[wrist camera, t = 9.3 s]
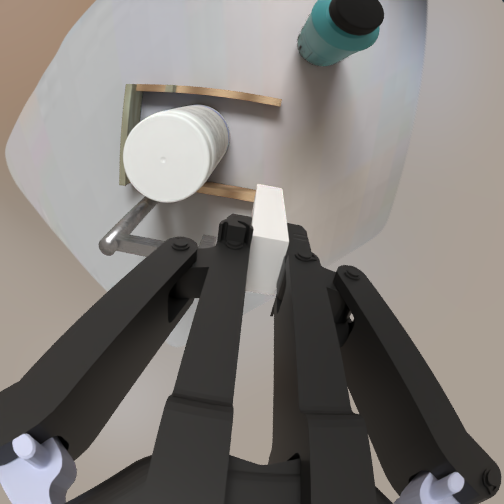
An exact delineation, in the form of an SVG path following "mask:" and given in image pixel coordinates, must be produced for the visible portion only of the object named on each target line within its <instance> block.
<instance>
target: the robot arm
mask: <svg viewBox="0 0 504 504" xmlns="http://www.w3.org/2000/svg"><path fill="white" fill-rule="evenodd" d="M502 1H503V2H504V0H502ZM276 288H277V295H276V298H275V302H274V305H273V308H272V312H271V315H270V316H273V314H274V398H273V443H272V450H271V454H270V457H269V462H268V465H258V464H255V463H252V462H249V461H246V460H243V459H240V458H237V457H234V456H231V455H229V451H230V442H231V431H232V423H233V396H234V385H235V378H236V369H237V359H238V350H239V342H240V333H241V323H242V315H243V306H244V297H245V291H248V292H254V293H260V294H266V295H272V296H274V295H275V291H276ZM194 298H200V299H199V302H198V305H197V309H196V312H195V316H194V319H193V322H192V326H191V329H190V333H189V336H188V340H187V343H186V347H185V350H184V354H183V358H182V361H181V365H180V369H179V372H178V376H177V380H176V383H175V387H174V390H173V393H172V395H170V396H169V397H168V399H167V401H166V404H165V407H164V411H163V415H162V419H161V422H160V426H159V430H158V434H157V438H156V442H155V446H154V451H153V454H152V455H151V456H148V457H145V458H142V459H140V460H138V461H136V462H134V463H132V464H131V465H130V466H128V467H126V468H125V469H123V470H122V471H120V472H118V473H117V474H115V475H114V476H112V477H110V478H109V479H107V480H105V481H104V482H102V483H100V484H99V485H97V486H95V487H94V488H92V489H90V490H88V491H87V492H85V493H83V494H81V495H80V496H78V497H76V498H74V499H72V500H70V501H68V502H66V500H65V499H66V498H65V496H66V493H67V490H68V489H69V488H70V486H71V485H72V484H73V483H74V481H75V478H76V474H77V471H76V470H77V469H76V465H75V462H74V460H76V459H77V458H78V457H79V456H80V455H81V454H82V453H83V452H84V451H85V450H87V449H88V448H89V446H90V445H91V444H92V442H93V441H94V440H95V438H96V437H97V436H98V434H99V433H100V432H101V430H102V429H103V427H104V426H105V424H106V423H107V422H108V420H109V419H110V417H111V416H112V414H113V413H114V411H115V410H116V409H117V407H118V406H119V404H120V403H121V401H122V400H123V399H124V397H125V396H126V394H127V393H128V392H129V390H130V389H131V387H132V386H133V385H134V383H135V382H136V380H137V379H138V377H139V376H140V375H141V373H142V372H143V371H144V369H145V368H146V366H147V365H148V364H149V362H150V361H151V359H152V358H153V356H154V355H155V354H156V352H157V351H158V350H159V348H160V347H161V346H162V344H163V343H164V341H165V340H166V339H167V337H168V336H169V334H170V333H171V332H172V330H173V329H174V328H175V326H176V325H177V324H178V322H179V321H180V319H181V318H182V317H183V315H184V314H185V313H186V311H187V310H188V309H189V307H190V306H191V304H192V303H193V301H194ZM351 313H352V314H353V316H354V320H353V322H352V321H351V319H350V315H351ZM347 387H348V388H347ZM348 389H349V391H350V393H351V395H352V398H353V400H354V402H355V405H356V407H357V409H358V412H359V414H355V413H353V412H352V410H351V406H350V400H349V394H348ZM368 435H369V437H370V440H371V442H372V444H373V447H374V449H375V452H376V454H377V457H378V459H379V461H380V464H381V466H382V468H383V471H384V473H385V475H386V477H387V479H388V480H389V482H390V484H391V485H392V487H393V488H394V490H395V491H396V492H397V493H398V495H399V496H400V498H398V499H397V500H396V501H395V502H394V504H479V503H481V502H483V501H485V500H487V499H489V498H491V497H492V496H494V495H495V494H496V492H497V491H498V490H499V487H500V484H501V472H500V469H499V467H498V466H497V464H496V463H495V462H494V461H493V460H492V459H491V458H490V457H489V455H488V454H487V453H486V452H485V451H484V450H483V449H482V448H481V447H480V446H479V445H478V444H477V443H476V442H475V441H474V439H473V438H472V437H471V436H470V435H469V434H468V433H467V432H466V430H465V428H464V427H463V425H462V423H461V421H460V419H459V417H458V415H457V414H456V412H455V410H454V408H453V407H452V405H451V403H450V401H449V399H448V398H447V396H446V394H445V393H444V391H443V389H442V388H441V386H440V384H439V382H438V381H437V379H436V378H435V376H434V374H433V373H432V371H431V369H430V368H429V366H428V365H427V363H426V362H425V360H424V358H423V357H422V355H421V354H420V352H419V351H418V349H417V347H416V346H415V344H414V343H413V341H412V340H411V338H410V337H409V336H408V334H407V332H406V331H405V330H404V328H403V327H402V325H401V324H400V323H399V321H398V319H397V318H396V317H395V315H394V314H393V312H392V311H391V309H390V308H389V307H388V305H387V304H386V302H385V301H384V300H383V298H382V297H381V296H380V294H379V293H378V292H377V290H376V289H375V287H374V286H373V285H372V283H371V282H370V281H369V279H368V278H367V277H366V275H365V274H364V273H363V272H362V271H360V270H359V269H357V268H355V267H353V266H348V265H343V266H340V267H338V269H337V271H336V272H333V271H331V270H328V269H326V268H324V267H322V266H321V264H320V260H319V258H318V257H317V256H316V255H315V254H314V253H312V252H311V248H310V244H309V240H308V237H307V232H306V230H305V229H304V228H303V227H302V226H300V225H295V224H290V223H287V221H286V213H285V206H284V198H283V191H282V188H277V187H272V186H267V185H261V184H257V188H256V193H255V199H254V204H253V209H252V214H251V217H248V216H242V215H236V214H232V215H230V216H229V217H227V219H225V220H223V221H221V222H220V224H219V232H218V240H217V244H216V246H213V247H210V248H198V247H197V243H196V242H194V241H193V240H191V239H189V238H185V237H175V238H170V239H168V240H167V241H165V242H164V243H163V244H162V245H160V246H159V247H158V248H157V249H156V250H154V251H153V252H152V253H151V254H150V255H149V256H147V257H146V258H145V259H144V260H143V261H142V262H141V263H139V264H138V265H137V266H136V267H135V268H134V269H133V270H131V271H130V272H129V273H128V274H127V275H126V276H125V277H124V278H122V279H121V280H120V281H119V282H118V283H117V284H116V285H115V286H114V287H112V288H111V289H110V290H109V291H108V292H107V293H106V294H105V295H104V296H103V297H102V298H101V299H100V300H99V301H97V302H96V303H95V304H94V305H93V306H92V307H91V308H90V309H89V310H88V311H87V312H86V313H85V314H84V315H83V316H82V317H81V318H80V319H78V321H76V322H75V323H74V325H72V326H71V327H70V328H69V329H68V330H67V331H66V333H64V335H62V336H61V337H60V338H59V339H58V340H57V341H56V342H55V343H54V345H52V347H51V348H50V349H49V350H48V351H47V352H46V353H45V354H44V355H43V356H42V357H41V358H40V359H39V360H38V361H37V363H35V364H34V366H33V367H32V368H31V369H30V370H29V371H28V372H27V373H26V374H25V375H24V376H23V378H22V379H21V380H20V381H19V382H17V383H15V384H13V385H11V386H10V387H8V388H6V389H4V390H3V391H1V392H0V483H1V485H2V487H3V489H4V491H5V492H6V494H7V496H8V497H9V499H10V501H11V503H12V504H393V503H392V502H391V501H390V500H389V499H388V498H387V497H386V496H385V495H384V494H383V493H382V492H381V491H380V490H379V489H378V488H377V487H376V486H375V482H374V474H373V466H372V459H371V452H370V445H369V439H368Z"/></svg>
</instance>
